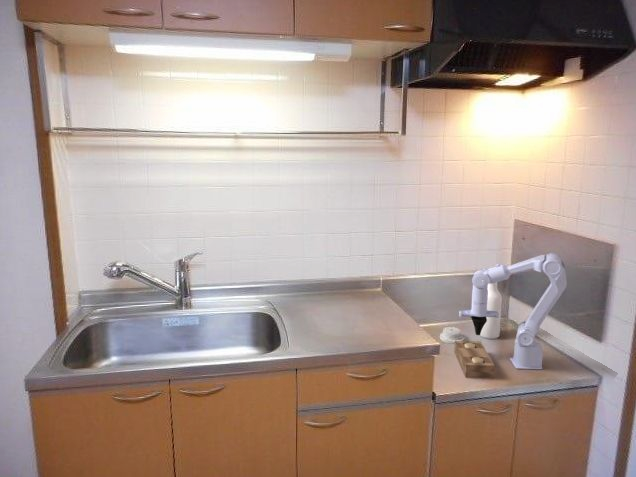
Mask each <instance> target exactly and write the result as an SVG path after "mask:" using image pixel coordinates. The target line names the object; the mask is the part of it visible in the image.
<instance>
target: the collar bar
mask: <svg viewBox="0 0 636 477" xmlns="http://www.w3.org/2000/svg"><path fill="white" fill-rule="evenodd" d="M465 343H473V344H475V348H465ZM453 350H454V355H455V357H456V359H457V362H458V364H459V367H460V369H461V370H462V373H463V375H464V377H465V378H468V379H472V378H473V379H480V378H481V379H495V366H496V365H495V364H494V362H493V360H492V358H491V357H490V355H489V354H488V352H487V350H486V348H485V347H484V345H483V343H482V341H481V340H464V341H455V344H454V349H453ZM473 357H480V358H482V359H483V363H473V362H472V358H473Z"/></svg>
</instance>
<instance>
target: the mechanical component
mask: <svg viewBox="0 0 636 477" xmlns="http://www.w3.org/2000/svg"><path fill="white" fill-rule="evenodd" d="M439 338H440V340H441V341H442V342H444V343H446V344H454V345H455V341H465V336H464V335H463V334H462V330H461V329H459V328H458V327H456V326H455V327H454V326H447V327H443V328H442V332H441V333H440V334H439Z"/></svg>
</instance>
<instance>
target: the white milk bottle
mask: <svg viewBox="0 0 636 477" xmlns="http://www.w3.org/2000/svg"><path fill="white" fill-rule="evenodd" d="M487 290H488V299H487V310H488V311H497V312H498V313H499V318H496V317H486V319H487V322H486V323H485V325H484V326H483V328H482V330H481V333H480V335H479V337H481V338H482V339H483V338H484V339H487V340H496V339H498V338H499V337H500V332H501V330H500V329H501V315H502V303H503V298H502V294H501V293H500V292H499V289H498V282H496V283H492V284H488V289H487Z"/></svg>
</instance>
